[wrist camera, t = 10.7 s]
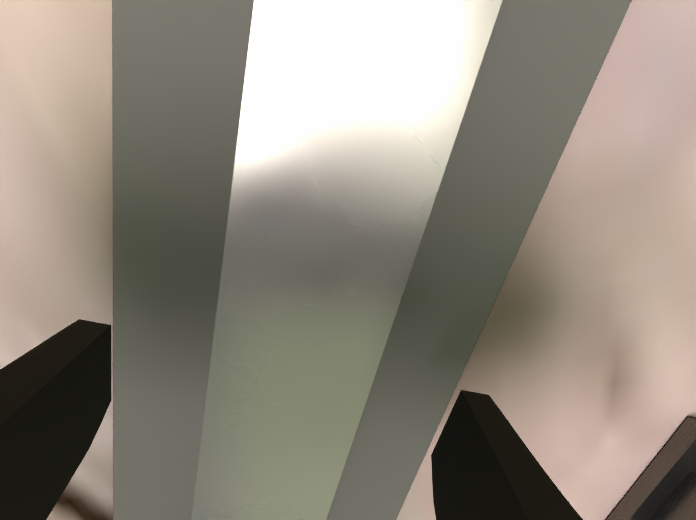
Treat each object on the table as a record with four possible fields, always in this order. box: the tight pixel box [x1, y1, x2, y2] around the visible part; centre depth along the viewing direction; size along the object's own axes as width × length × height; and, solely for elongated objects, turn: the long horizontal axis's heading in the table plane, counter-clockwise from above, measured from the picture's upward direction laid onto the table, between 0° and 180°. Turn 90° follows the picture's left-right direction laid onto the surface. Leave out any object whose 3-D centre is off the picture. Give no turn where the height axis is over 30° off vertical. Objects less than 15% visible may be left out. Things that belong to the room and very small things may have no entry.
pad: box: [112, 0, 632, 520], centre depth 13 cm, size 22×9×1 cm, turn 167°
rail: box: [191, 0, 502, 520], centre depth 11 cm, size 18×3×3 cm, turn 167°
